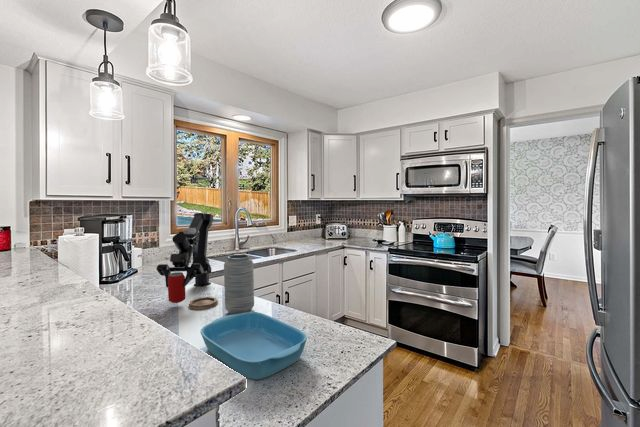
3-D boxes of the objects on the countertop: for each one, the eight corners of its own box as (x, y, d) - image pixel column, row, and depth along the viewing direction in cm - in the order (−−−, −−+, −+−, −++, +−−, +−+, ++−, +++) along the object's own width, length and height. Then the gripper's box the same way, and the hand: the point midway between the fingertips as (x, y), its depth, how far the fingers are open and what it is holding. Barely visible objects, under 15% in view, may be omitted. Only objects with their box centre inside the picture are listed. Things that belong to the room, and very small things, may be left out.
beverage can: (188, 298, 137) (187, 272, 136) (180, 304, 130) (179, 276, 129) (174, 298, 137) (173, 271, 137) (165, 303, 131) (164, 275, 130)
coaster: (203, 298, 143) (203, 295, 143) (223, 302, 138) (223, 298, 138) (182, 307, 132) (182, 303, 132) (203, 311, 127) (203, 307, 127)
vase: (219, 313, 125) (217, 257, 123) (239, 304, 135) (237, 252, 134) (241, 319, 119) (239, 260, 118) (260, 309, 129) (259, 254, 128)
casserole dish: (190, 346, 98) (189, 324, 98) (250, 325, 114) (250, 306, 114) (255, 399, 72) (254, 370, 72) (321, 362, 88) (321, 338, 88)
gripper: (157, 246, 136) (145, 278, 125) (200, 245, 136) (192, 277, 126) (166, 259, 144) (155, 290, 134) (206, 259, 145) (199, 289, 135)
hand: (175, 286), depth 132 cm, fingers closed on beverage can, 7 cm apart
